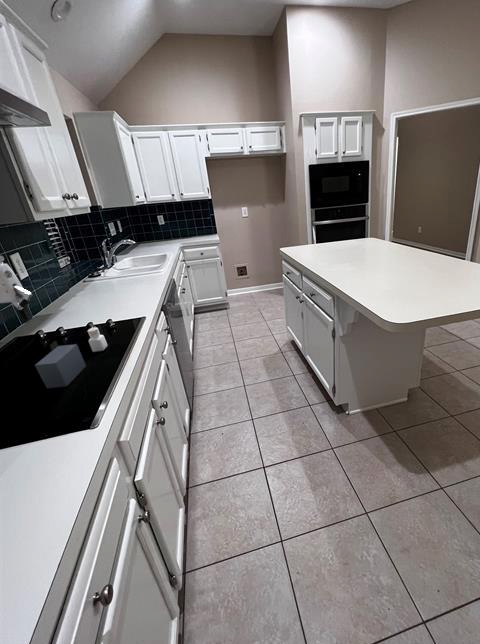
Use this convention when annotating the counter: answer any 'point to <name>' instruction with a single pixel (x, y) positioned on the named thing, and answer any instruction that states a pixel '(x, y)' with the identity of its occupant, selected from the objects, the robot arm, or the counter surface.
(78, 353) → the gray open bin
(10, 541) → the counter surface
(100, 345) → the pepper shaker
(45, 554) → the counter surface
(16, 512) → the counter surface
